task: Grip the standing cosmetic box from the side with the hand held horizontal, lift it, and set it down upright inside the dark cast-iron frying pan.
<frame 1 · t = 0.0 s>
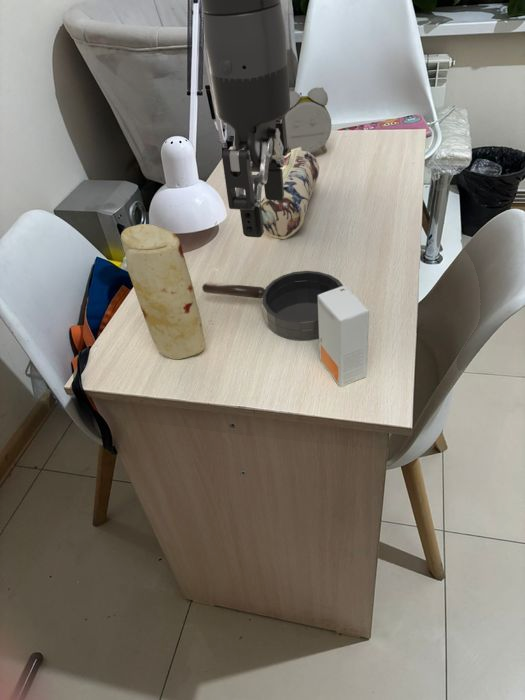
hand: (265, 216, 60), 22 cm above the table, tool pointing down, fingers open, 8 cm apart
food model: (179, 347, 78), on the table
cosmetic box: (342, 370, 71), on the table
frying pan: (304, 313, 81), on the table
alarm clock: (307, 158, 123), on the table
pencil case: (292, 213, 104), on the table
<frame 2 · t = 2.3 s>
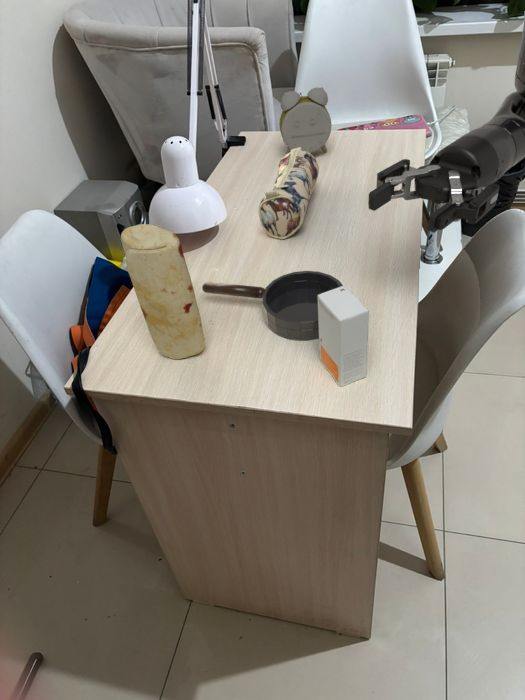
hand: (400, 213, 61), 20 cm above the table, tool horizontal, fingers open, 8 cm apart
nothing on the table moved.
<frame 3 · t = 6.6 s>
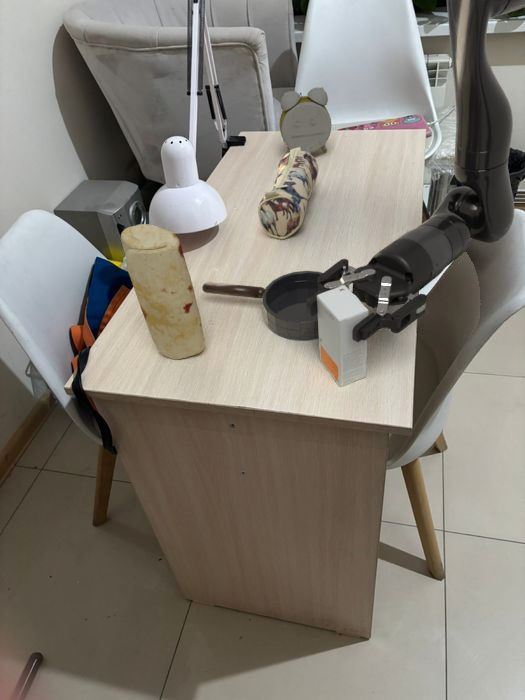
hand: (331, 322, 63), 10 cm above the table, tool horizontal, fingers closed on cosmetic box, 7 cm apart
cosmetic box: (342, 370, 71), on the table, touching gripper
everything else where it was.
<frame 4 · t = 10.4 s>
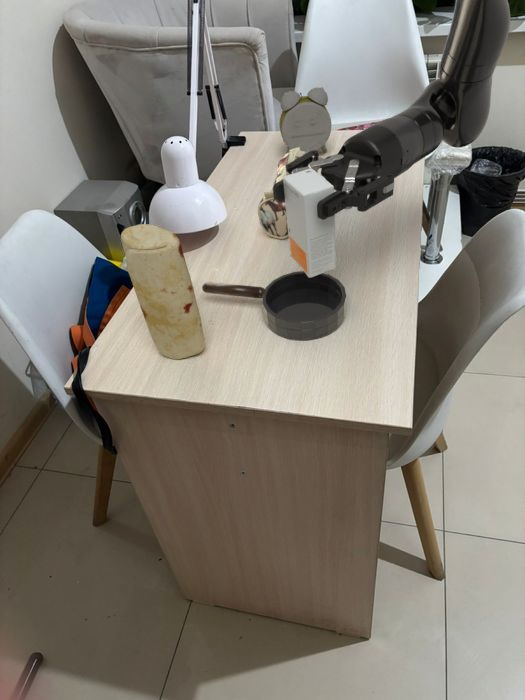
hand: (296, 202, 62), 22 cm above the table, tool horizontal, fingers closed on cosmetic box, 7 cm apart
cosmetic box: (312, 264, 70), point 12 cm above the table, touching gripper
everything else where it was.
when the fingers open (11 cm above the table, at t = 14.6 s): cosmetic box stays where it is, resting on frying pan.
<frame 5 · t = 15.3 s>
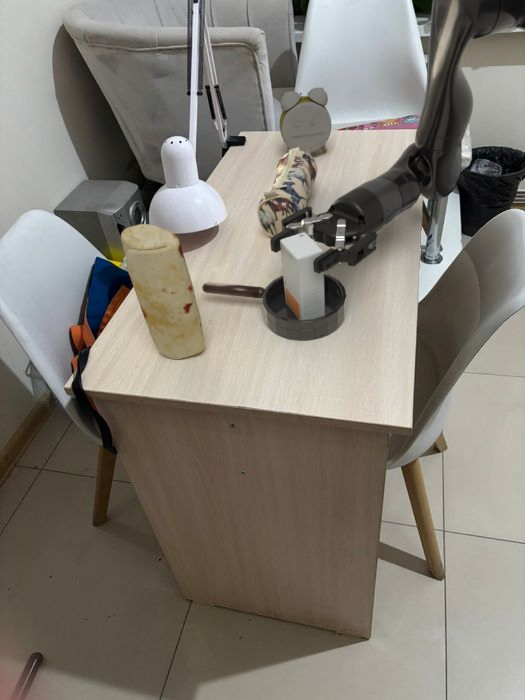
hand: (293, 256, 72), 11 cm above the table, tool horizontal, fingers open, 8 cm apart
cosmetic box: (305, 311, 80), resting on frying pan
everything else where it was.
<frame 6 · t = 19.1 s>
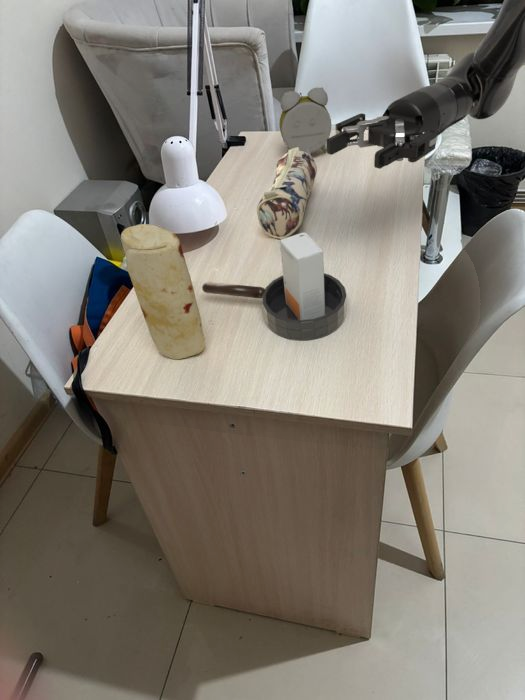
hand: (351, 154, 71), 22 cm above the table, tool horizontal, fingers open, 8 cm apart
nothing on the table moved.
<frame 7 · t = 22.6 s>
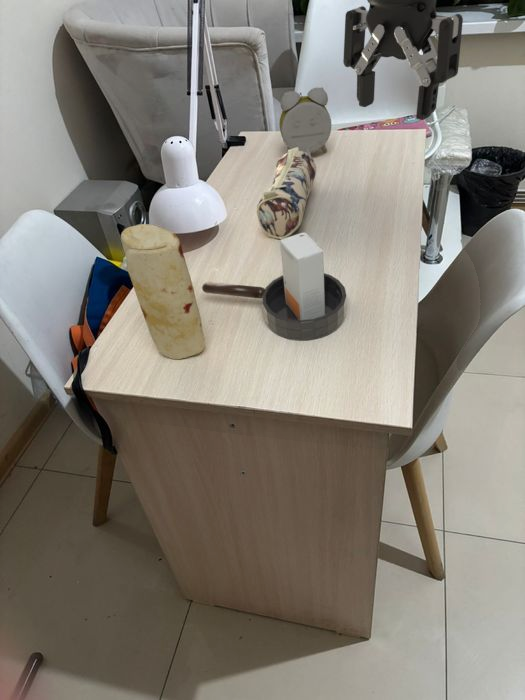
hand: (394, 111, 63), 28 cm above the table, tool pointing down, fingers open, 8 cm apart
nothing on the table moved.
at the end: cosmetic box inside the target area in the frying pan (0.1 cm from its centre), point 0.3 cm above the frying pan's base; cosmetic box tilted 0° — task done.
